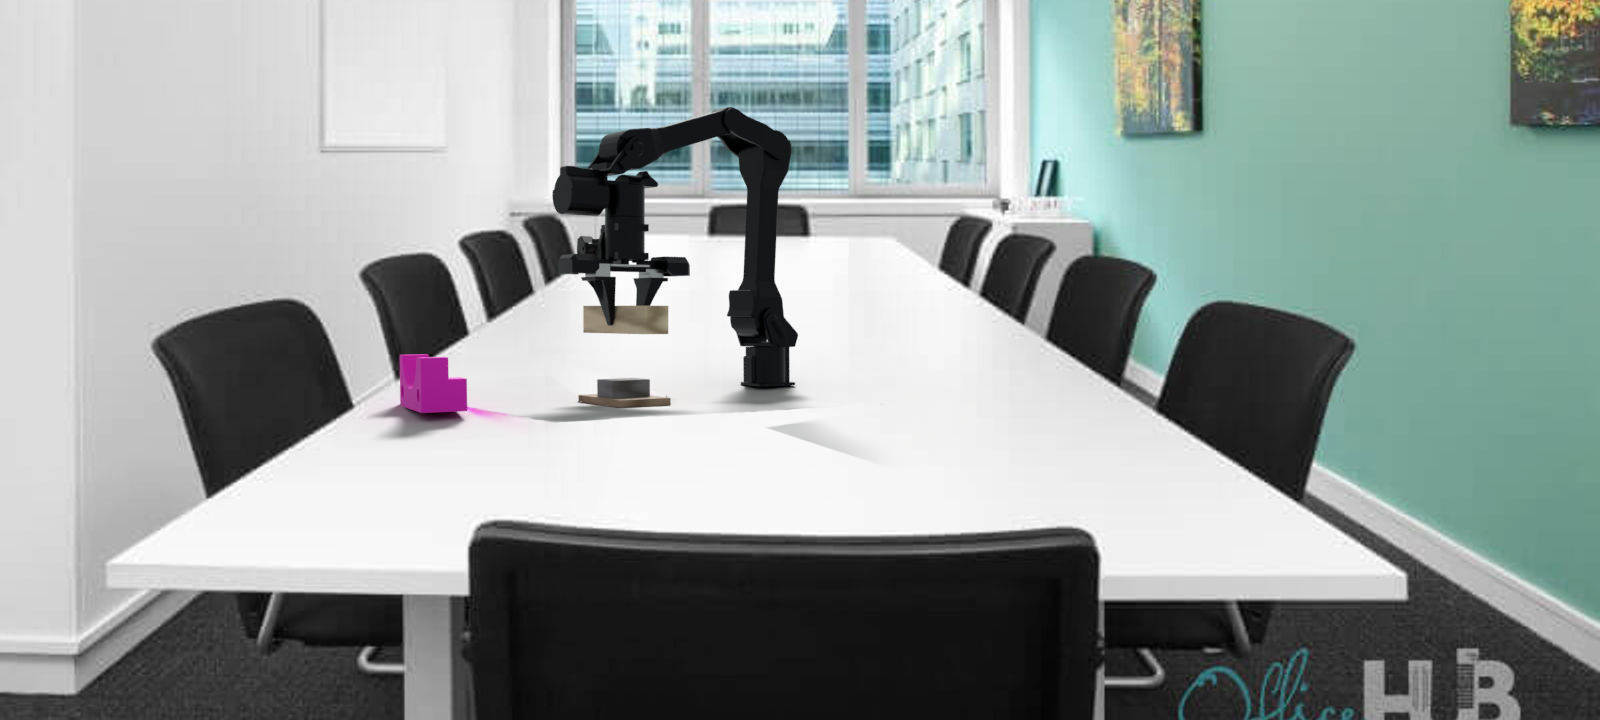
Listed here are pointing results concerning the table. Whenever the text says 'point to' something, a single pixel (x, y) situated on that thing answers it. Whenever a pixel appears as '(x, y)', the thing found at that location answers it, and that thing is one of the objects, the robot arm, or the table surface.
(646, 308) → the beam
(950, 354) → the table surface
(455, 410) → the toy block
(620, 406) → the fulcrum stand
